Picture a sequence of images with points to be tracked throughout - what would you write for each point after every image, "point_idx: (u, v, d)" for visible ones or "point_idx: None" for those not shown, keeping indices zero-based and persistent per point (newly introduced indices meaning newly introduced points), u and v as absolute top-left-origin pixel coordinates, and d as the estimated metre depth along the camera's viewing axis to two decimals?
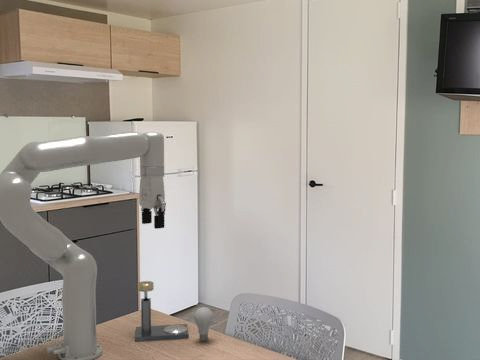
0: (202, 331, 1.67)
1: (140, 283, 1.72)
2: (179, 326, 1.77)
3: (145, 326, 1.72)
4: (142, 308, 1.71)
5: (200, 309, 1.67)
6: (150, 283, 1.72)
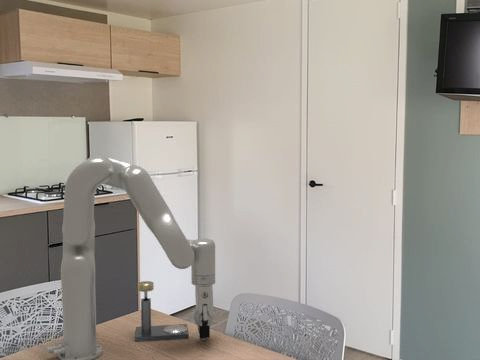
0: None
1: (140, 283, 1.72)
2: (179, 326, 1.77)
3: (145, 326, 1.72)
4: (142, 308, 1.71)
5: None
6: (150, 283, 1.72)
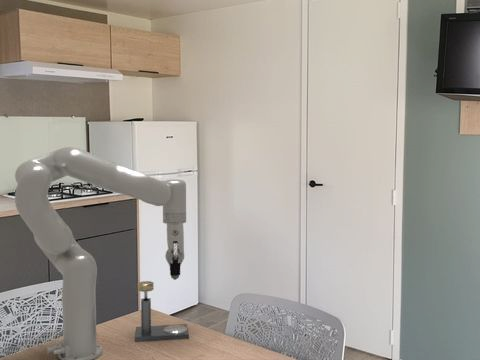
0: None
1: (140, 283, 1.72)
2: (179, 326, 1.77)
3: (145, 326, 1.72)
4: (142, 308, 1.71)
5: None
6: (150, 283, 1.72)
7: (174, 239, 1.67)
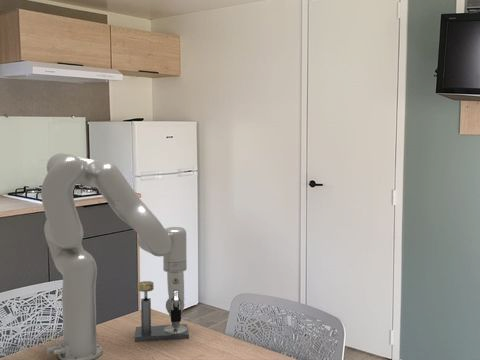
0: None
1: (140, 283, 1.72)
2: (179, 326, 1.77)
3: (145, 326, 1.72)
4: (142, 308, 1.71)
5: None
6: (150, 283, 1.72)
7: (174, 288, 1.69)
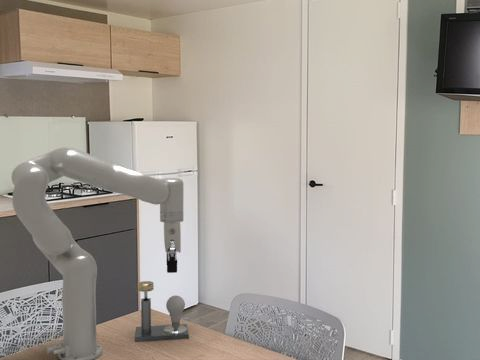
0: (174, 319, 1.74)
1: (140, 283, 1.72)
2: (179, 326, 1.77)
3: (145, 326, 1.72)
4: (142, 308, 1.71)
5: (172, 297, 1.74)
6: (150, 283, 1.72)
7: (171, 238, 1.67)
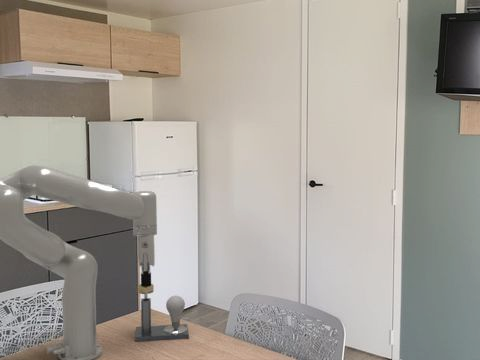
0: (174, 319, 1.74)
1: (140, 285, 1.72)
2: (179, 326, 1.77)
3: (145, 326, 1.72)
4: (142, 308, 1.71)
5: (172, 297, 1.74)
6: None
7: (144, 251, 1.66)
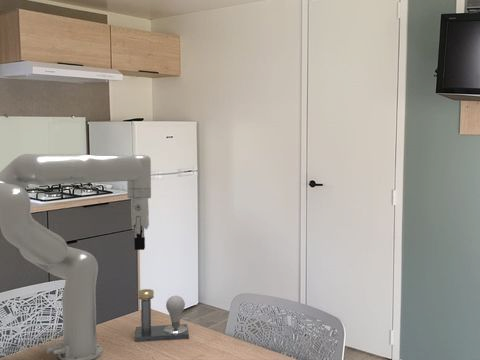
0: (174, 319, 1.74)
1: (140, 291, 1.72)
2: (179, 326, 1.77)
3: (145, 326, 1.72)
4: (142, 308, 1.71)
5: (172, 297, 1.74)
6: (150, 291, 1.72)
7: (137, 214, 1.67)
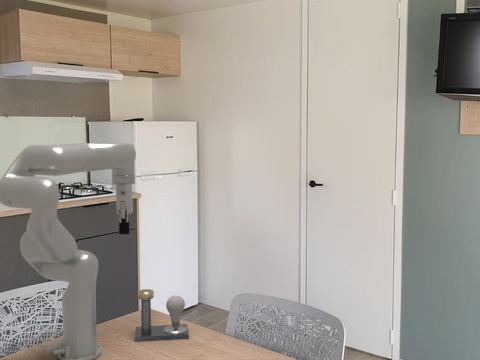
0: (174, 319, 1.74)
1: (140, 291, 1.72)
2: (179, 326, 1.77)
3: (145, 326, 1.72)
4: (142, 308, 1.71)
5: (172, 297, 1.74)
6: (150, 291, 1.72)
7: (122, 199, 1.73)
